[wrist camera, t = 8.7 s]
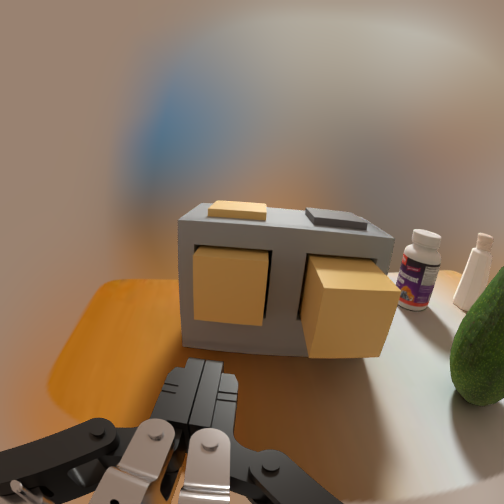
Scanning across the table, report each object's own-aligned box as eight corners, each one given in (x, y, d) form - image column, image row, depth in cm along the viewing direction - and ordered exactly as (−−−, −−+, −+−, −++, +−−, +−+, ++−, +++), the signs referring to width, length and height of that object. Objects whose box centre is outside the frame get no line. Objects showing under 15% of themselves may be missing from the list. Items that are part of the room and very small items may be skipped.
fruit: (457, 438, 12) (542, 289, 8) (418, 374, 19) (466, 244, 15) (511, 410, 12) (574, 286, 8) (473, 362, 19) (516, 252, 15)
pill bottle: (384, 295, 35) (400, 226, 31) (411, 292, 35) (427, 228, 32) (407, 314, 29) (428, 238, 26) (434, 309, 30) (454, 240, 27)
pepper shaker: (458, 311, 30) (480, 236, 26) (447, 295, 35) (465, 227, 31) (484, 314, 28) (507, 243, 25) (472, 299, 33) (490, 233, 30)
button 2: (349, 302, 24) (360, 249, 22) (379, 356, 16) (401, 291, 15) (296, 299, 24) (304, 244, 22) (308, 358, 16) (324, 287, 15)
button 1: (262, 280, 27) (266, 231, 26) (262, 326, 20) (268, 261, 18) (211, 276, 27) (213, 227, 26) (194, 319, 20) (193, 255, 18)
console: (342, 312, 30) (362, 211, 26) (362, 356, 22) (396, 230, 19) (200, 302, 30) (201, 196, 26) (182, 346, 22) (177, 211, 19)
